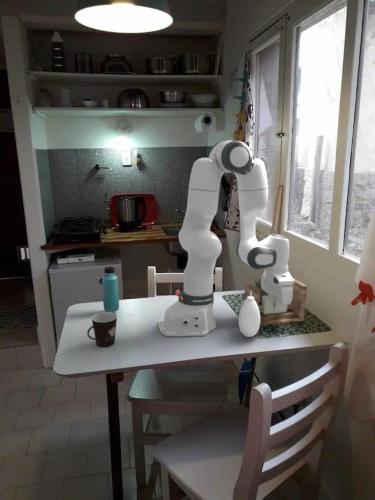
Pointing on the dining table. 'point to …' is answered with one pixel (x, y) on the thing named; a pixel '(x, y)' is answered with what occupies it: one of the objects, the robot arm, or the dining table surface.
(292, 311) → the track frame
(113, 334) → the coffee mug
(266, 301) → the door panel
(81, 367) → the dining table surface
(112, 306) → the beverage bottle
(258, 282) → the coffee cup
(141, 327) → the dining table surface
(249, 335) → the sauce bottle
